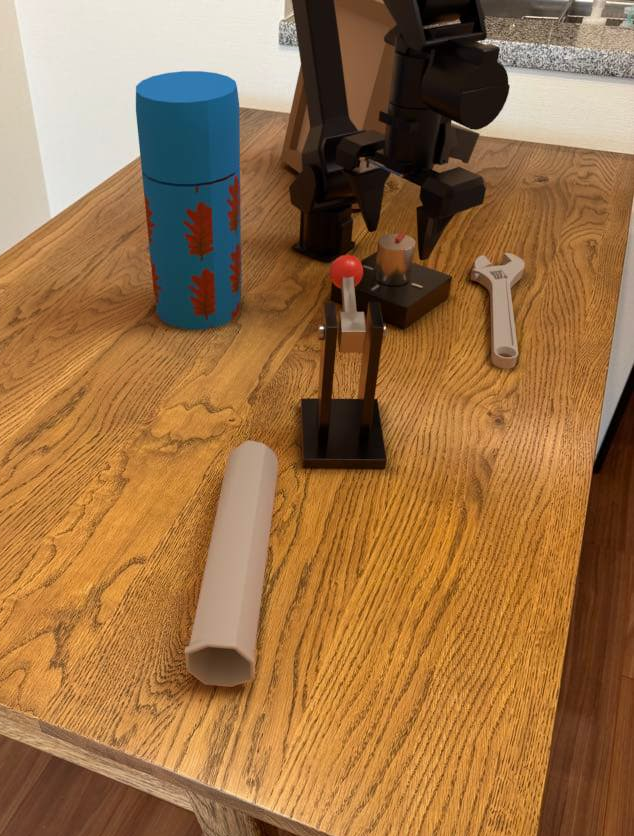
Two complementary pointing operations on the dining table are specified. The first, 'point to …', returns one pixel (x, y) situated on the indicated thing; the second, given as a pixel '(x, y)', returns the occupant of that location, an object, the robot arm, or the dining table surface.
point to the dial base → (399, 294)
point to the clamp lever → (349, 304)
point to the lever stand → (345, 404)
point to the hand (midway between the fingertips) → (397, 244)
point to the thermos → (192, 195)
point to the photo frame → (351, 74)
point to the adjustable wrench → (500, 305)
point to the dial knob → (394, 259)
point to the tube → (235, 570)
